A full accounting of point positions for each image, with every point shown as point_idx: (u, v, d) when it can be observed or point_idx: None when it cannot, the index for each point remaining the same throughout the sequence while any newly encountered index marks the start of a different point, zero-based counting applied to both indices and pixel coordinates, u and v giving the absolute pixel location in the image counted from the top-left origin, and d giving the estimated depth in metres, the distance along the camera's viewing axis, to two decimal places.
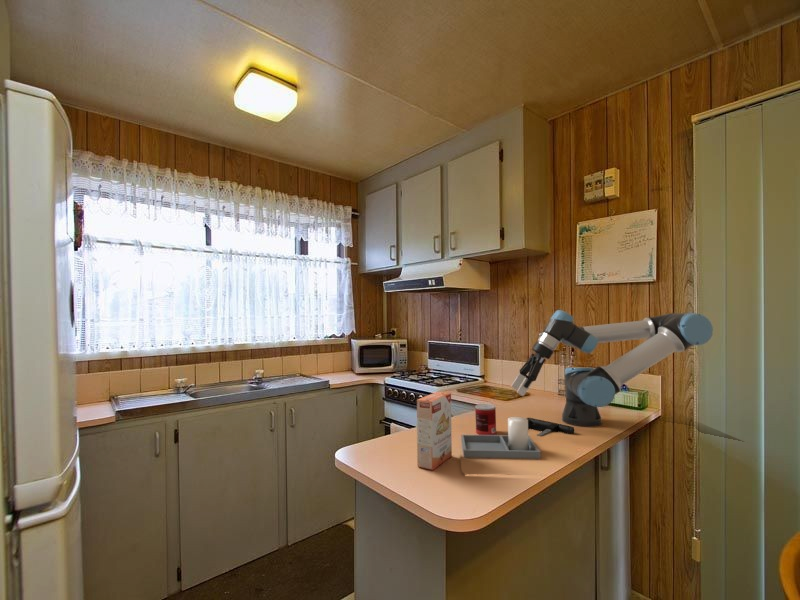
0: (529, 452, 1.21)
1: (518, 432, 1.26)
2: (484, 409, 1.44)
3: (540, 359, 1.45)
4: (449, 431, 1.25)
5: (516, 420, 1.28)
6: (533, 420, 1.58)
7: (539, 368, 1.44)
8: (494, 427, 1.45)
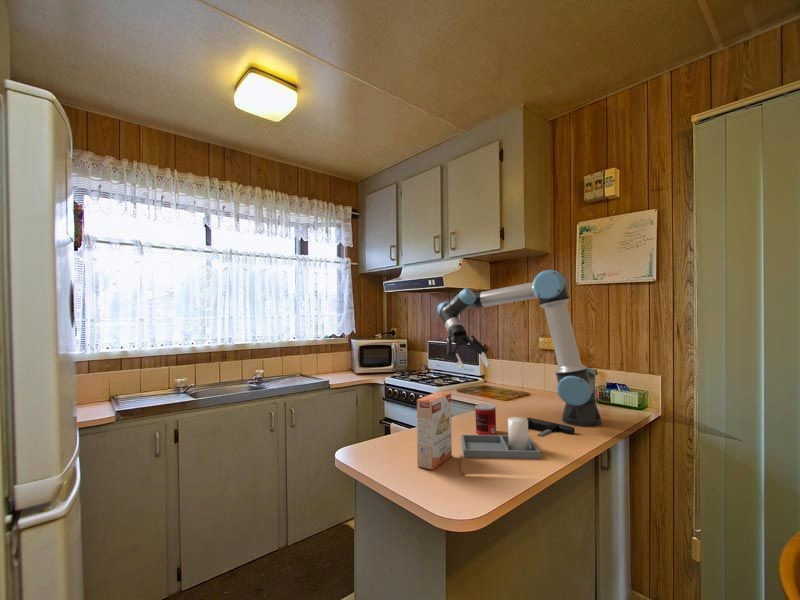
0: (529, 452, 1.21)
1: (518, 432, 1.26)
2: (484, 409, 1.44)
3: (447, 340, 1.69)
4: (449, 431, 1.25)
5: (516, 420, 1.28)
6: (533, 420, 1.57)
7: (448, 344, 1.66)
8: (494, 427, 1.45)
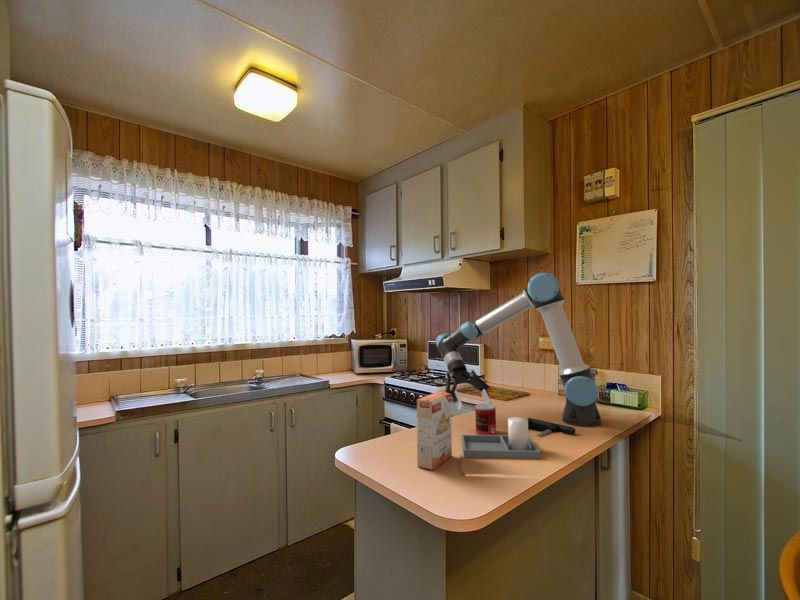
0: (529, 452, 1.21)
1: (518, 432, 1.26)
2: (484, 409, 1.44)
3: (446, 377, 1.61)
4: (449, 431, 1.25)
5: (516, 420, 1.28)
6: (534, 420, 1.57)
7: (447, 381, 1.57)
8: (494, 427, 1.45)
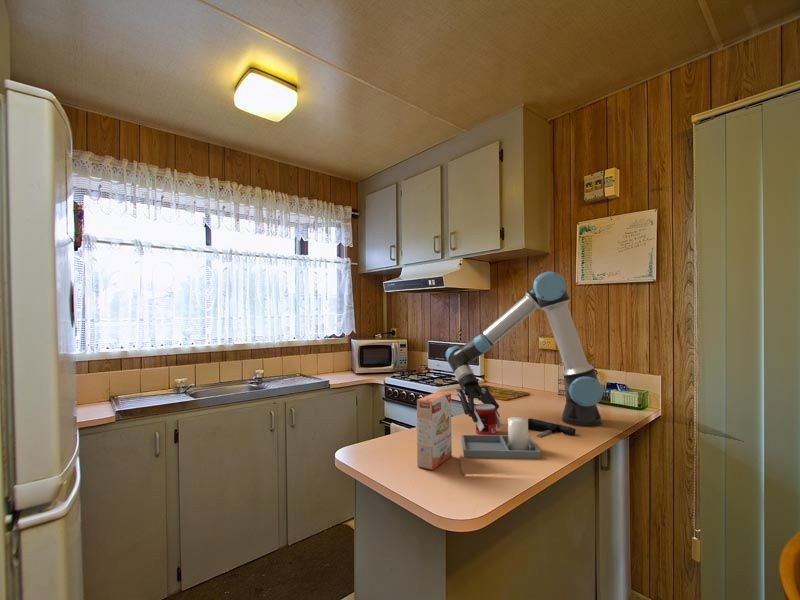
0: (529, 452, 1.21)
1: (518, 432, 1.26)
2: (484, 409, 1.44)
3: (459, 394, 1.53)
4: (449, 431, 1.25)
5: (516, 420, 1.28)
6: (534, 421, 1.56)
7: (463, 400, 1.50)
8: (494, 427, 1.45)
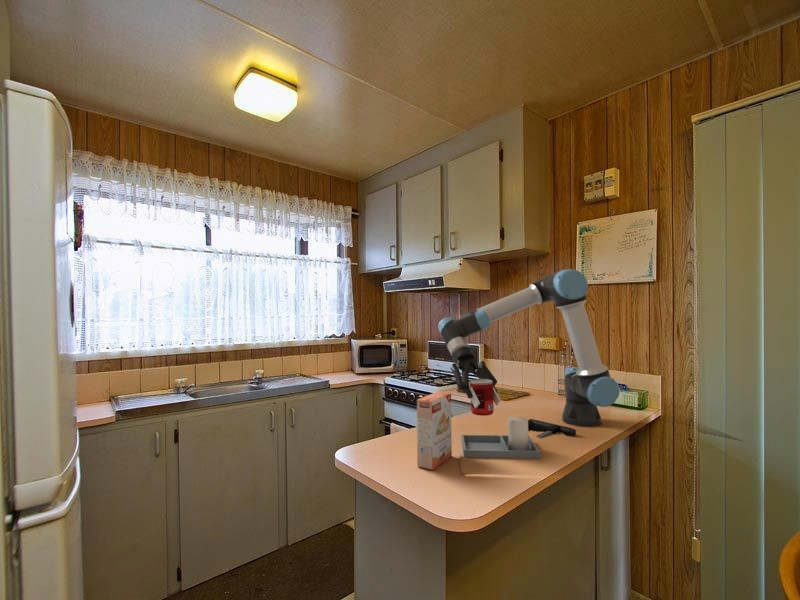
0: (529, 452, 1.21)
1: (518, 432, 1.26)
2: (480, 383, 1.28)
3: (452, 368, 1.36)
4: (449, 431, 1.25)
5: (516, 420, 1.28)
6: (535, 421, 1.56)
7: (456, 374, 1.33)
8: (491, 404, 1.28)
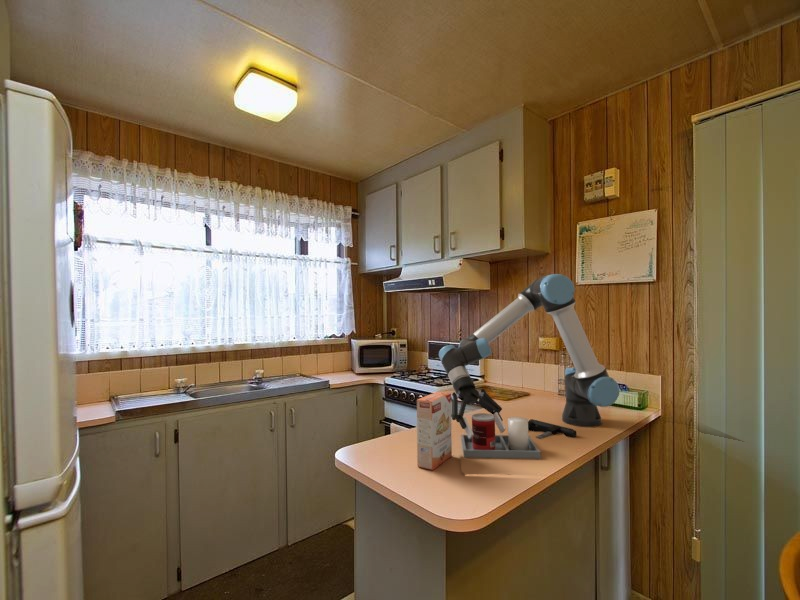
0: (529, 452, 1.21)
1: (518, 432, 1.26)
2: (482, 420, 1.27)
3: (451, 397, 1.36)
4: (449, 431, 1.25)
5: (516, 420, 1.28)
6: (536, 422, 1.55)
7: (453, 403, 1.33)
8: (493, 440, 1.28)
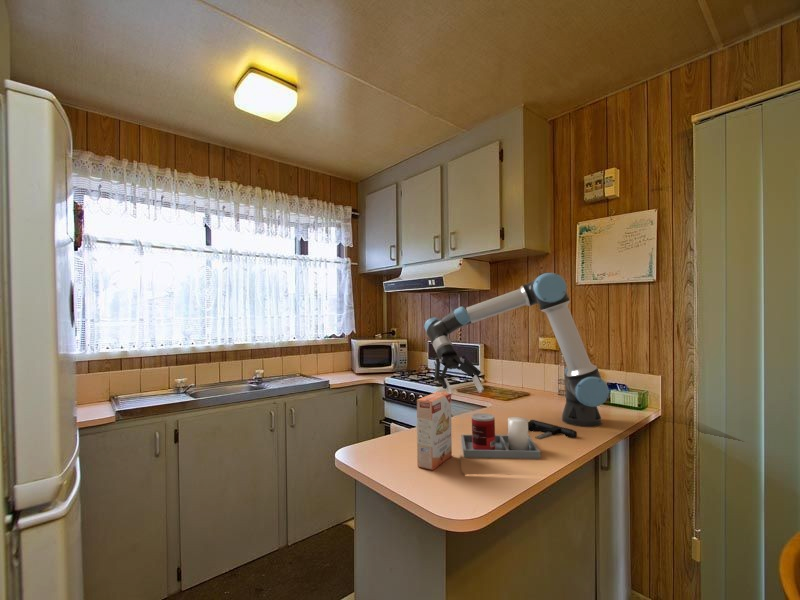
0: (529, 452, 1.21)
1: (518, 432, 1.26)
2: (482, 420, 1.27)
3: (435, 362, 1.50)
4: (449, 431, 1.25)
5: (516, 420, 1.28)
6: (536, 422, 1.54)
7: (436, 367, 1.47)
8: (493, 440, 1.28)
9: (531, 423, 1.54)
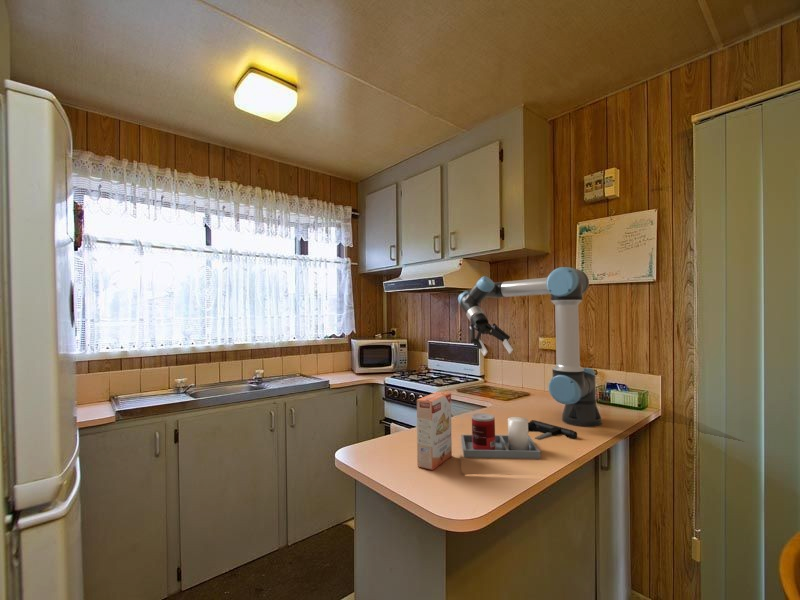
0: (529, 452, 1.21)
1: (518, 432, 1.26)
2: (482, 420, 1.27)
3: (469, 328, 1.73)
4: (449, 431, 1.25)
5: (516, 420, 1.28)
6: (537, 423, 1.54)
7: (471, 331, 1.69)
8: (493, 440, 1.28)
9: (531, 423, 1.54)
